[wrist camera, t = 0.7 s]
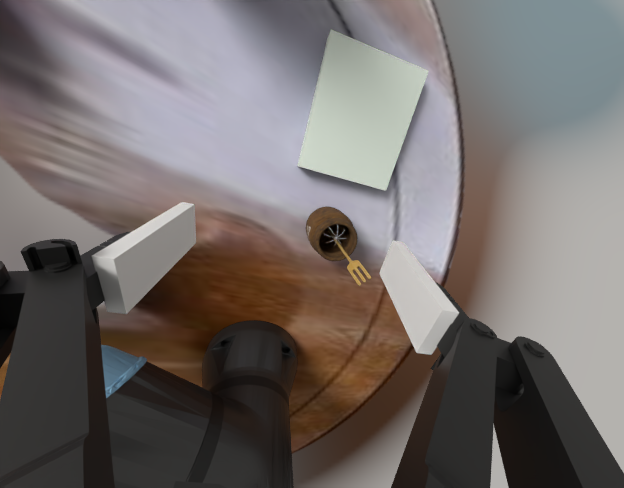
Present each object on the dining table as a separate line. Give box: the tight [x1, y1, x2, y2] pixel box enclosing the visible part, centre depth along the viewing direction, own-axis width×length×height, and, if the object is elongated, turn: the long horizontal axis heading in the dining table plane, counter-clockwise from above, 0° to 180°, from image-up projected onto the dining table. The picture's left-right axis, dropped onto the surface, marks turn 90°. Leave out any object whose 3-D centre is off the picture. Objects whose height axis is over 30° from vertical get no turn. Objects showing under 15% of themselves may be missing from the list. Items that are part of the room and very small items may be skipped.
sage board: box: [298, 30, 428, 191], centre depth 28 cm, size 14×12×2 cm
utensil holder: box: [306, 207, 371, 286], centre depth 28 cm, size 6×6×12 cm
